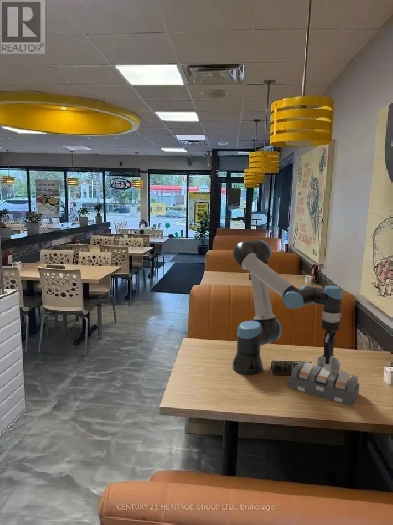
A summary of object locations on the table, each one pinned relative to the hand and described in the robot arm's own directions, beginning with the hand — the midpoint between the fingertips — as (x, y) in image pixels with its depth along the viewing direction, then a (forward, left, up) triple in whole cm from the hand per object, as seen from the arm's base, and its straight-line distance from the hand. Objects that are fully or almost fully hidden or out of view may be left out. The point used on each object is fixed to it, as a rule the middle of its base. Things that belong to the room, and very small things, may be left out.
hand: (327, 369), depth 175 cm
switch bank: (0, -5, -8) cm, 10 cm away
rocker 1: (-8, -5, -1) cm, 9 cm away
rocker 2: (0, -5, -1) cm, 5 cm away
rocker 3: (+8, -5, -1) cm, 9 cm away
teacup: (-3, +15, -9) cm, 17 cm away
